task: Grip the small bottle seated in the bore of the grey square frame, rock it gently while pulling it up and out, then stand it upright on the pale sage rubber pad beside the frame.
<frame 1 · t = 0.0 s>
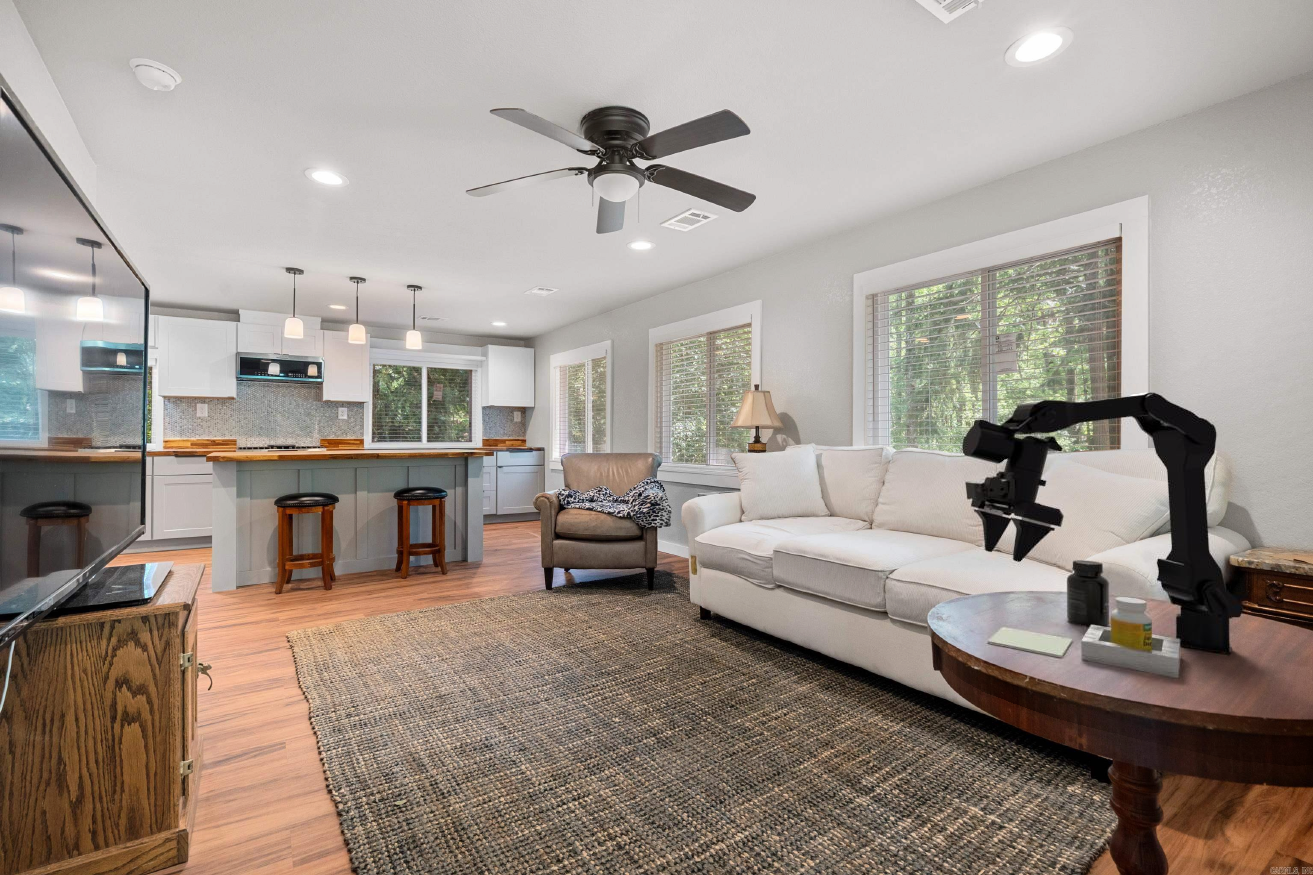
hand: (1001, 556, 106), 15 cm above the table, tool pointing down, fingers open, 9 cm apart
grey square frame: (1131, 658, 99), on the table
supplement bottle 2: (1131, 659, 99), resting in grey square frame
sage pad: (1030, 642, 107), on the table
supplement bottle: (1087, 624, 119), on the table
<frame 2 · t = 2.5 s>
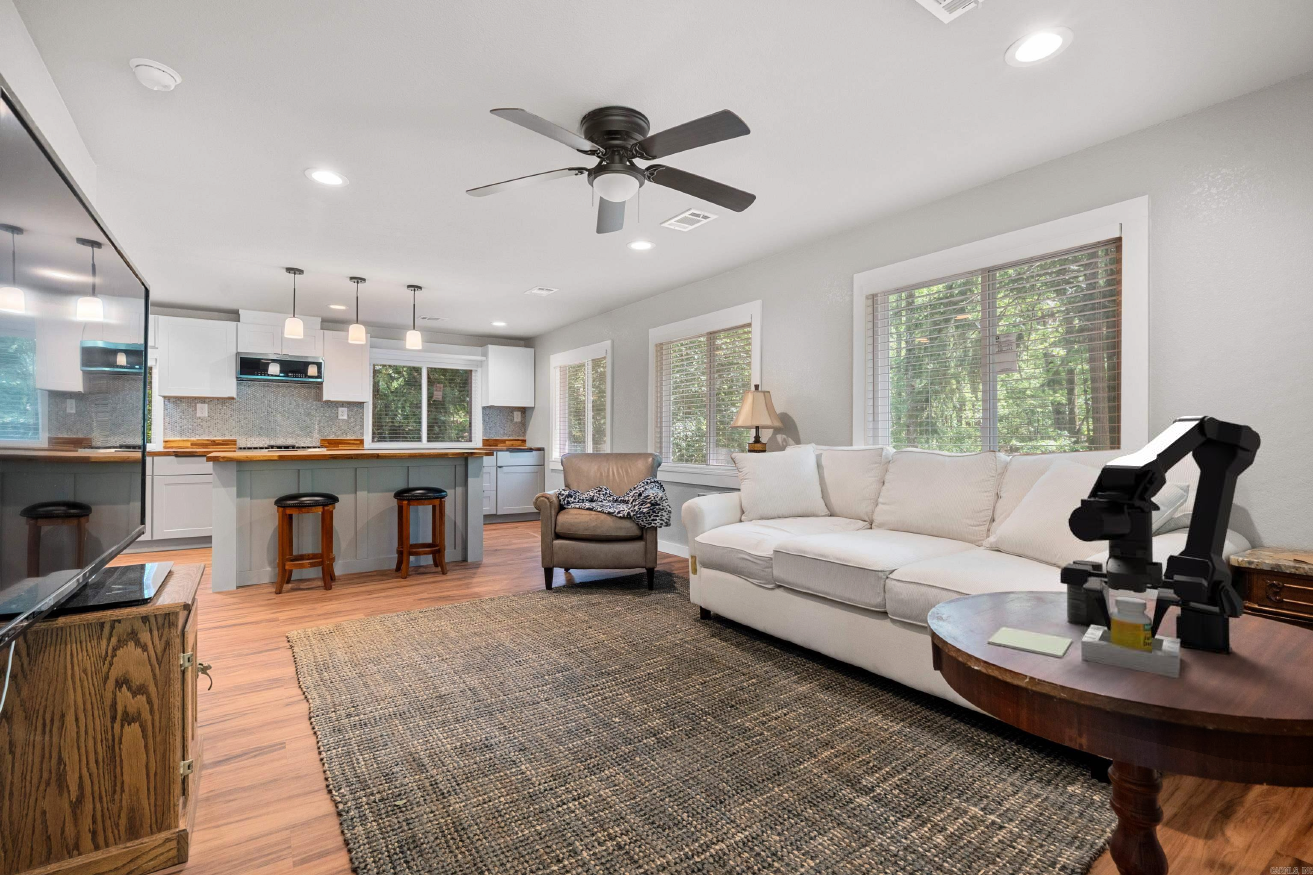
hand: (1131, 633, 99), 4 cm above the table, tool pointing down, fingers closed on supplement bottle 2, 5 cm apart
supplement bottle 2: (1131, 659, 99), resting in grey square frame, touching gripper
everything else where it was.
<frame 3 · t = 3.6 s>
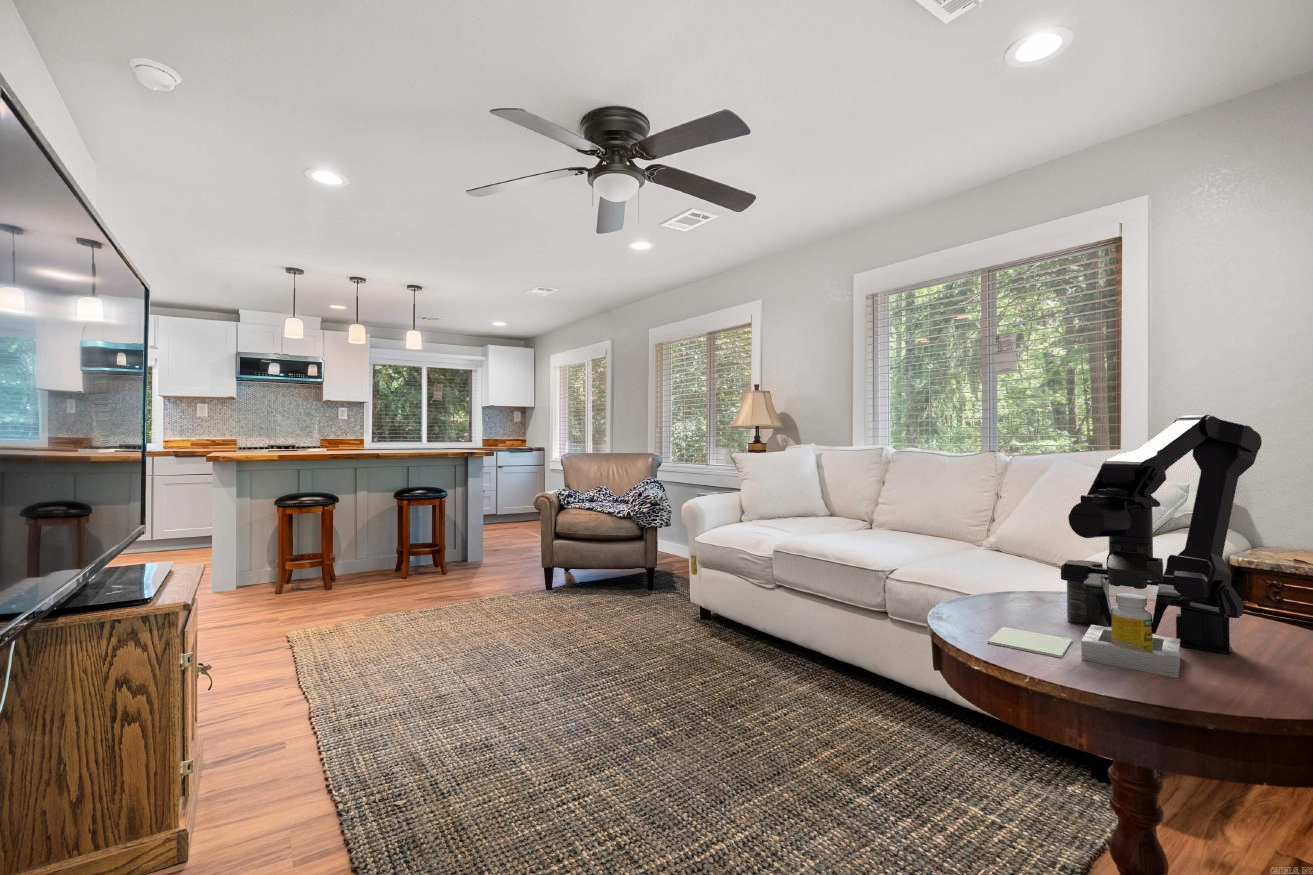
hand: (1131, 629, 99), 5 cm above the table, tool pointing down, fingers closed on supplement bottle 2, 5 cm apart
supplement bottle 2: (1131, 655, 99), resting in grey square frame, touching gripper
everything else where it was.
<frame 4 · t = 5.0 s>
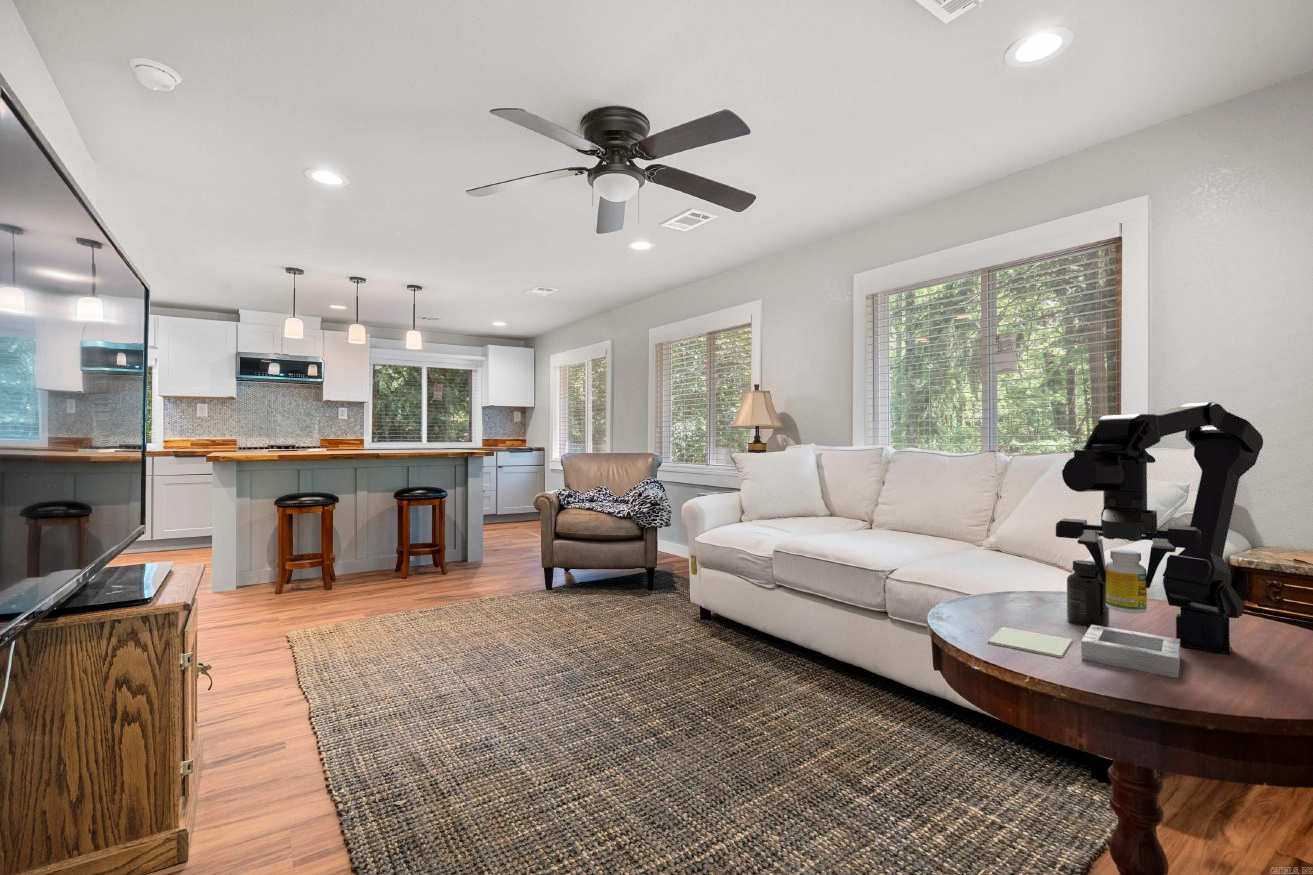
hand: (1125, 584, 100), 12 cm above the table, tool pointing down, fingers closed on supplement bottle 2, 5 cm apart
supplement bottle 2: (1126, 610, 100), point 8 cm above the table, touching gripper
everything else where it was.
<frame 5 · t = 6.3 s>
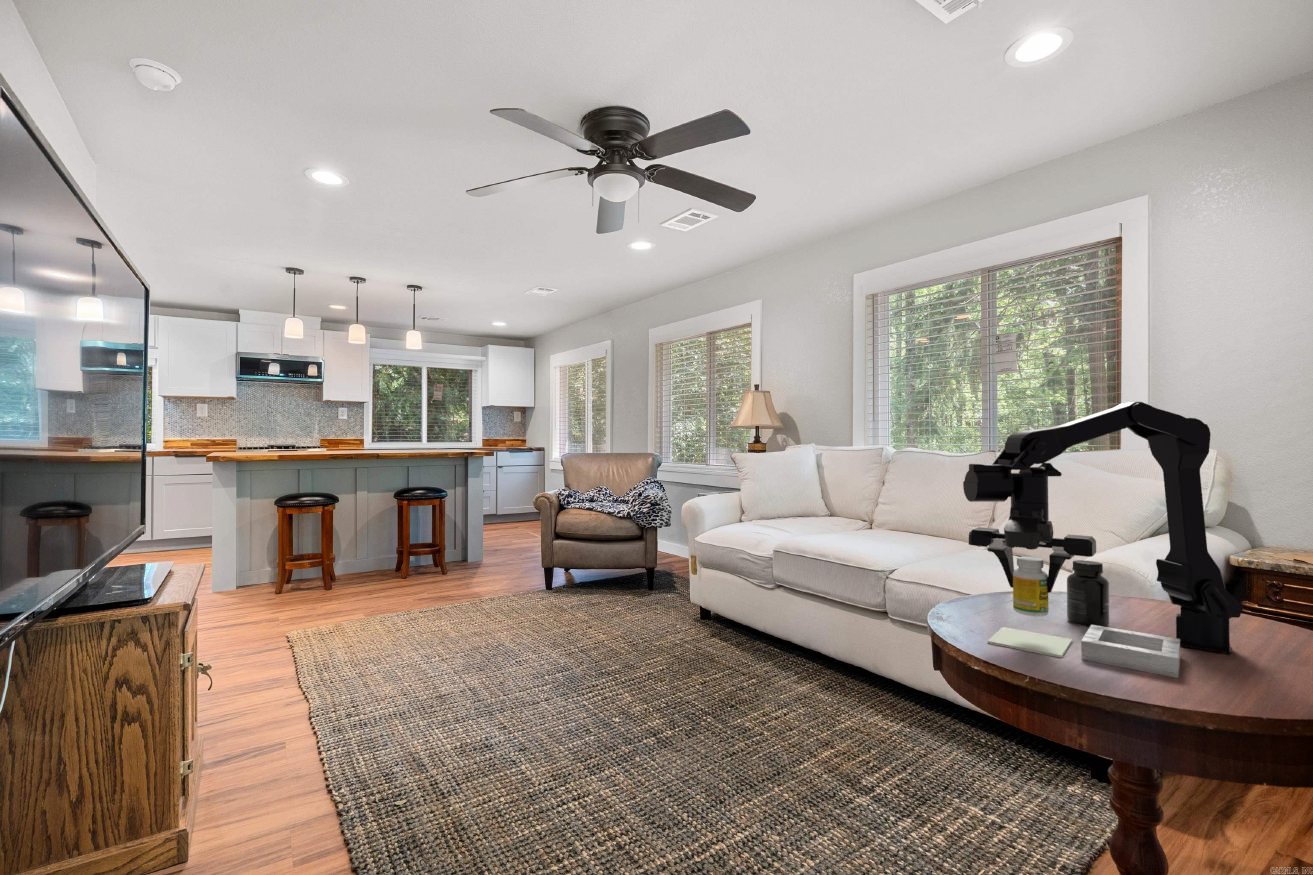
hand: (1030, 589, 107), 9 cm above the table, tool pointing down, fingers closed on supplement bottle 2, 5 cm apart
supplement bottle 2: (1030, 613, 107), point 5 cm above the table, touching gripper
everything else where it was.
when the fingers open (5 cm above the table, at t = 7.5 s): supplement bottle 2 stays where it is, resting on sage pad.
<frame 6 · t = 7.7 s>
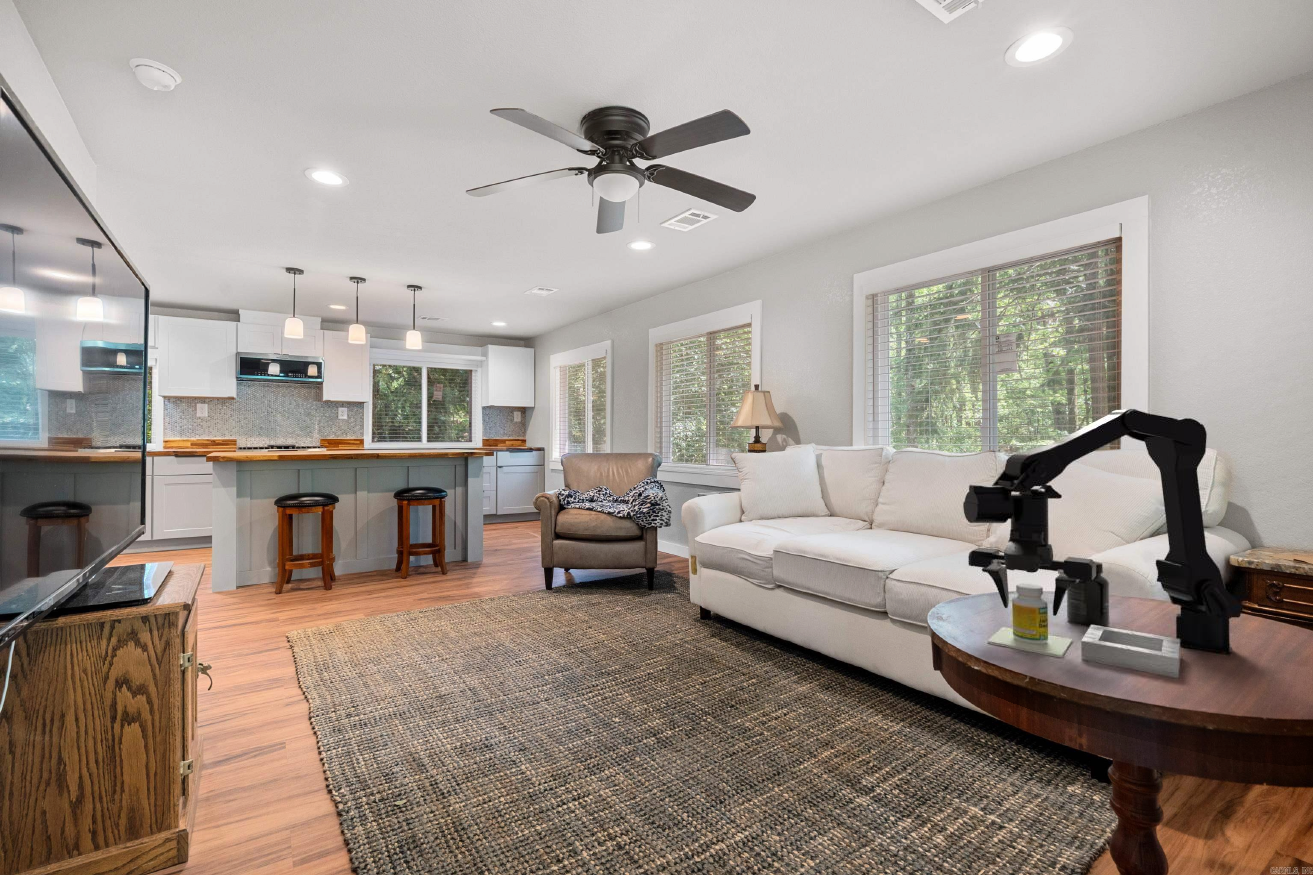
hand: (1030, 611, 107), 5 cm above the table, tool pointing down, fingers open, 7 cm apart
supplement bottle 2: (1030, 641, 107), resting on sage pad
everything else where it was.
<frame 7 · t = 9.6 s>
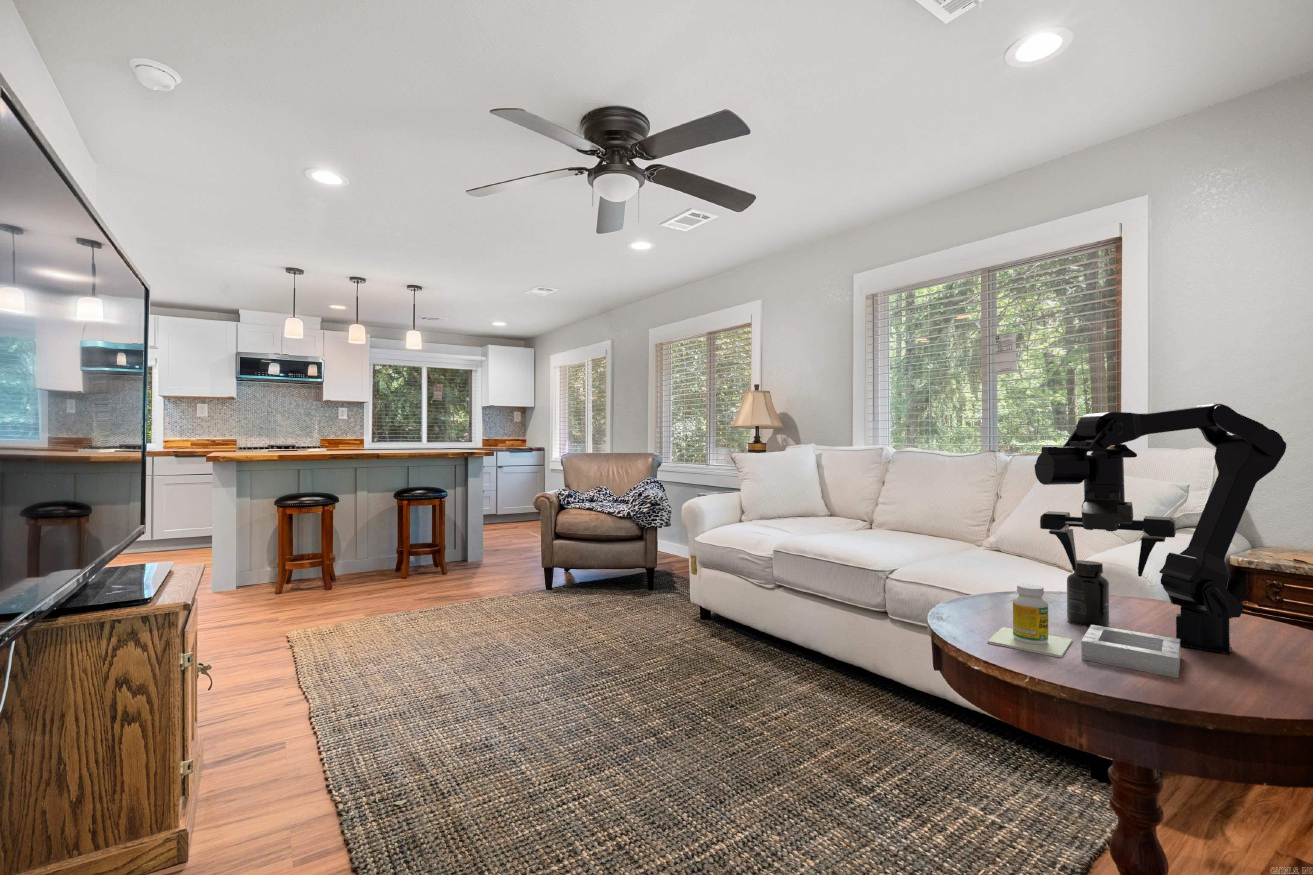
hand: (1106, 572, 106), 13 cm above the table, tool pointing down, fingers open, 9 cm apart
nothing on the table moved.
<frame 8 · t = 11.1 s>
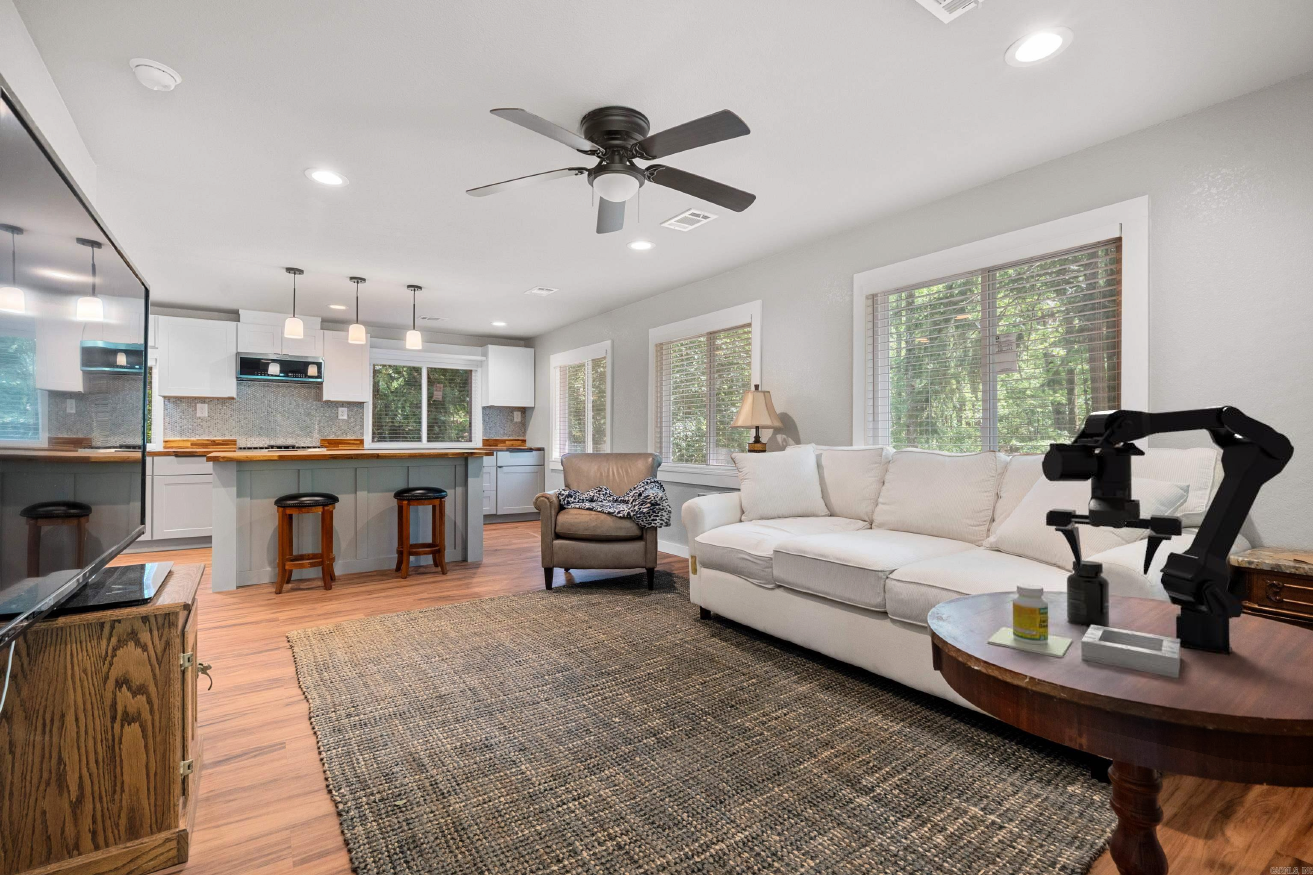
hand: (1111, 570, 106), 13 cm above the table, tool pointing down, fingers open, 9 cm apart
nothing on the table moved.
at the end: supplement bottle 2 inside the target area on the sage pad (0.1 cm from its centre), point 0.2 cm above the sage pad's base; supplement bottle 2 tilted 0°; supplement bottle 2 touching sage pad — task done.
